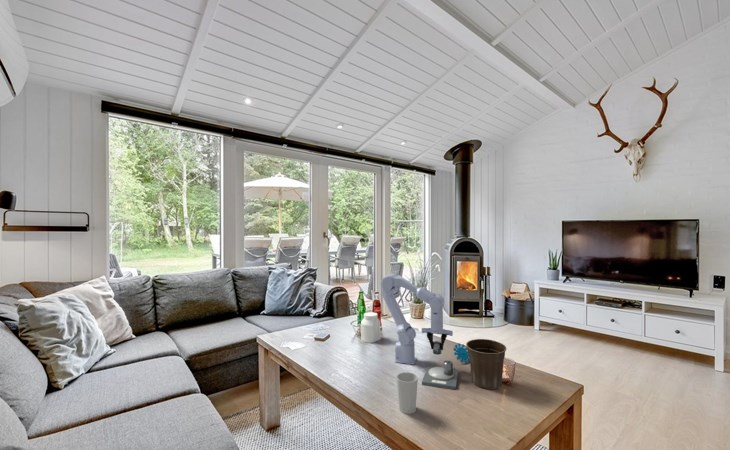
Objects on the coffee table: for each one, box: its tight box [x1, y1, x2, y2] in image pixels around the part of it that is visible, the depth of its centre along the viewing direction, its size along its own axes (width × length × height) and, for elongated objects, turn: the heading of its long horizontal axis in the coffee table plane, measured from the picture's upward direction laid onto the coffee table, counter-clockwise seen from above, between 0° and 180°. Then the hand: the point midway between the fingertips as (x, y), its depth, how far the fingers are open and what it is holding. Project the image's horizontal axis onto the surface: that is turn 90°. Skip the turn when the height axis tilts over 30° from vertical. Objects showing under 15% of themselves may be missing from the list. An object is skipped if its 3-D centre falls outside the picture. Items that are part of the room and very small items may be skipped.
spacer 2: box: [443, 360, 454, 376], centre depth 148 cm, size 4×4×5 cm
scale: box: [421, 365, 459, 390], centre depth 147 cm, size 14×16×2 cm
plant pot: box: [465, 338, 507, 390], centre depth 143 cm, size 16×16×16 cm
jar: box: [360, 311, 382, 344], centre depth 197 cm, size 12×10×15 cm
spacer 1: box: [432, 340, 443, 356], centre depth 160 cm, size 4×4×5 cm
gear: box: [452, 342, 470, 364], centre depth 167 cm, size 11×6×10 cm
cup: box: [396, 371, 419, 415], centre depth 124 cm, size 8×8×12 cm
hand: (437, 348), depth 160 cm, fingers closed on spacer 1, 4 cm apart
